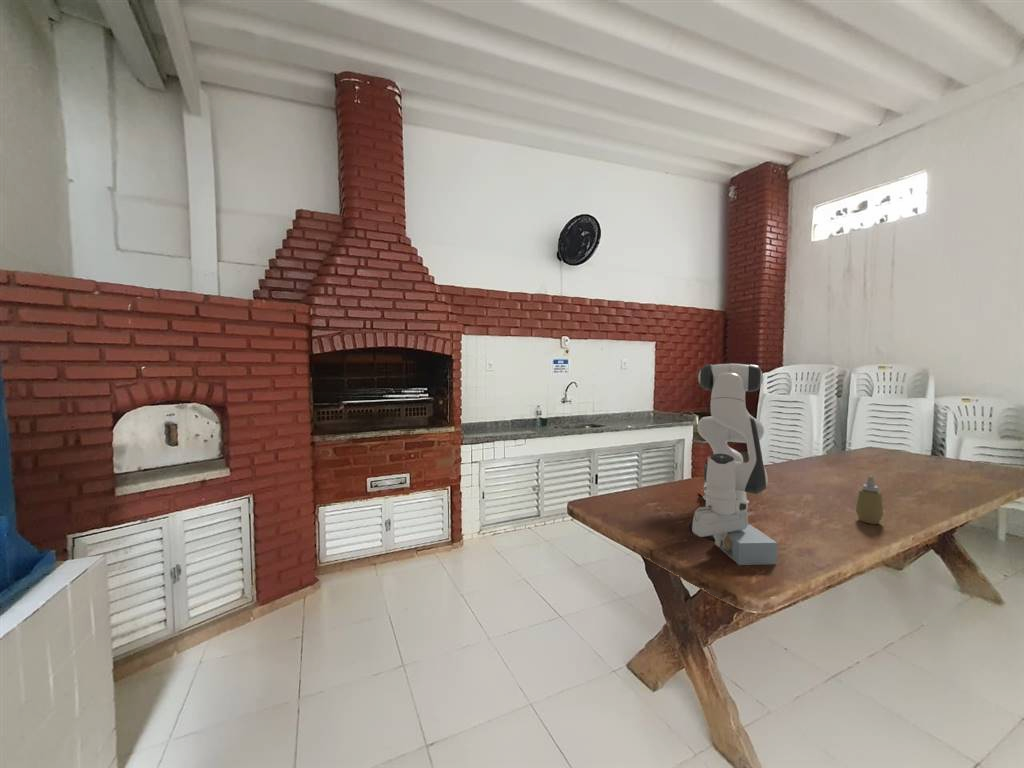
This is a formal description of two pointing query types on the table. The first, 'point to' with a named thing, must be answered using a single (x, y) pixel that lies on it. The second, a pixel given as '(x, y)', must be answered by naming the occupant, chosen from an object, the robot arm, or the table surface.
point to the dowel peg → (727, 544)
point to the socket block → (751, 547)
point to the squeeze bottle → (869, 503)
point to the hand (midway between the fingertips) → (719, 545)
